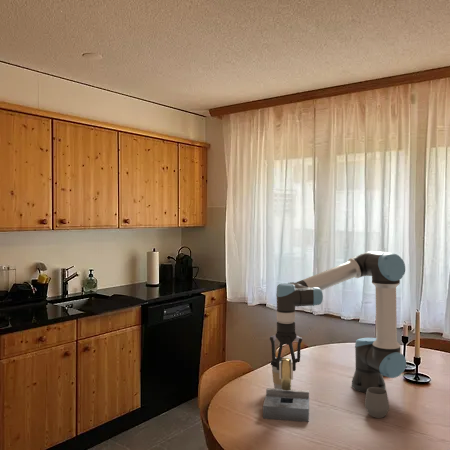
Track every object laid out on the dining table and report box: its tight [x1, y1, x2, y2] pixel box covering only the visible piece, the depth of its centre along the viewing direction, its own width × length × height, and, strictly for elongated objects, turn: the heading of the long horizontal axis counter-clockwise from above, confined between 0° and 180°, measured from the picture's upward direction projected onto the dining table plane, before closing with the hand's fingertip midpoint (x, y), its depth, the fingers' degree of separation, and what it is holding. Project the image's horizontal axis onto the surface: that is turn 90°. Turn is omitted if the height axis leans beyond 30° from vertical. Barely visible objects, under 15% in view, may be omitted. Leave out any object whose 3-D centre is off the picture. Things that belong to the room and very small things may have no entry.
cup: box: [364, 387, 390, 419], centre depth 181 cm, size 10×9×10 cm
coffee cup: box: [270, 357, 283, 389], centre depth 206 cm, size 9×9×15 cm
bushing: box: [281, 357, 292, 390], centre depth 184 cm, size 4×4×12 cm
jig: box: [262, 387, 310, 423], centre depth 184 cm, size 18×14×7 cm
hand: (286, 378), depth 184 cm, fingers closed on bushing, 4 cm apart
